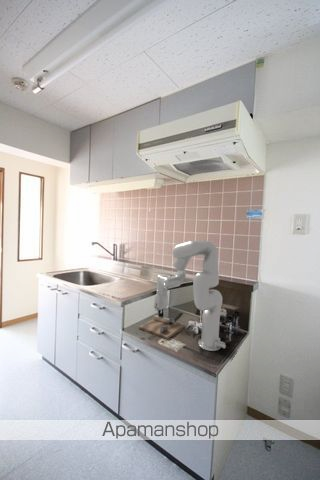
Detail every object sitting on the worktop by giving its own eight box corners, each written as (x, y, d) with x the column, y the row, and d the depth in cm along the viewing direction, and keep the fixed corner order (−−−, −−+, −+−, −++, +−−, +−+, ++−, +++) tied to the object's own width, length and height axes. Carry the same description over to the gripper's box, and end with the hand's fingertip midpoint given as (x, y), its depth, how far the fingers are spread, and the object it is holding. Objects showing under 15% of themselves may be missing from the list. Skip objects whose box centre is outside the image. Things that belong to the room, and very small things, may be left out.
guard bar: (174, 323, 149) (174, 318, 149) (172, 324, 146) (172, 320, 146) (154, 318, 156) (155, 313, 156) (152, 319, 153) (152, 315, 153)
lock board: (183, 327, 146) (184, 325, 146) (167, 339, 130) (167, 337, 130) (157, 319, 159) (157, 316, 159) (138, 328, 143) (138, 326, 143)
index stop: (167, 332, 138) (167, 325, 138) (162, 335, 134) (163, 328, 134) (164, 331, 140) (165, 324, 139) (160, 334, 135) (160, 327, 135)
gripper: (164, 289, 162) (163, 313, 163) (150, 293, 151) (149, 319, 152) (172, 291, 157) (171, 316, 159) (158, 295, 146) (157, 323, 147)
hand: (160, 318), depth 155 cm, fingers closed
